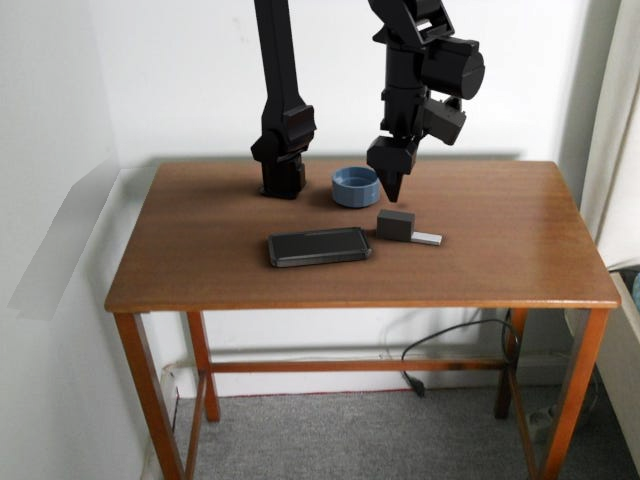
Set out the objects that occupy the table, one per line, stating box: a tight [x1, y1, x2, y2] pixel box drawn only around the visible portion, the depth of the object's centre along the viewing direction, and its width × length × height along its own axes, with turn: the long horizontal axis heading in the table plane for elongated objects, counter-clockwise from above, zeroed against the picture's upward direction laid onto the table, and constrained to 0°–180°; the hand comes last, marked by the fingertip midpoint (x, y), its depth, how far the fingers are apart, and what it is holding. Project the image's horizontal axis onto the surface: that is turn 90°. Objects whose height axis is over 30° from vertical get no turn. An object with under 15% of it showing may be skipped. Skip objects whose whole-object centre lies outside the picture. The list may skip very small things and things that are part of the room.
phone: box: [267, 226, 372, 268], centre depth 102 cm, size 8×1×15 cm
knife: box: [376, 208, 443, 246], centre depth 105 cm, size 10×3×4 cm, turn 75°
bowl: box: [331, 165, 381, 209], centre depth 114 cm, size 8×8×4 cm
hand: (400, 187), depth 101 cm, fingers open, 9 cm apart
